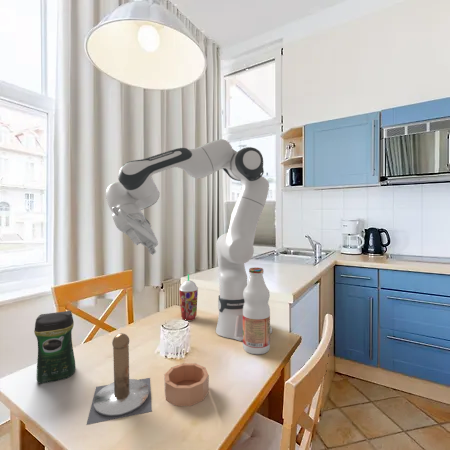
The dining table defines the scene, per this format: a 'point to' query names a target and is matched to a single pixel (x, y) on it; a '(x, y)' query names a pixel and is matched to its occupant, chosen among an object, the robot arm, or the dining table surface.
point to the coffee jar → (54, 346)
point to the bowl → (186, 384)
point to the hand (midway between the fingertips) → (145, 248)
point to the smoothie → (188, 299)
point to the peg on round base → (121, 385)
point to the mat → (145, 408)
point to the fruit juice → (256, 314)
